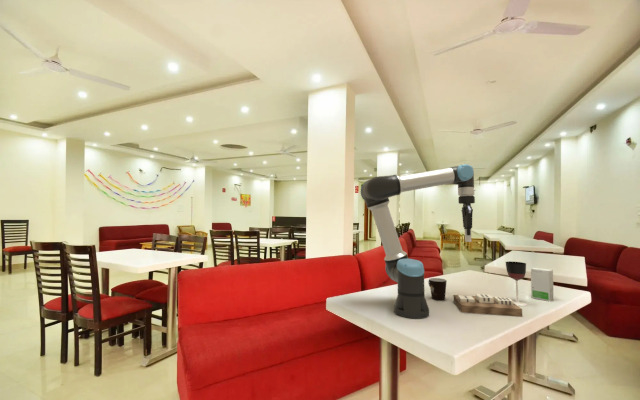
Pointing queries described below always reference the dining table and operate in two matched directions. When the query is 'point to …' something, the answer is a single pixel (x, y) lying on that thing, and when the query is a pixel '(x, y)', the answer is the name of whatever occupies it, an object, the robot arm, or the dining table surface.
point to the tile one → (466, 299)
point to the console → (487, 308)
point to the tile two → (484, 298)
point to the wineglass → (516, 275)
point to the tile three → (503, 300)
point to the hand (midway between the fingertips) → (468, 241)
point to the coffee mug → (437, 288)
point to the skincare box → (542, 284)
